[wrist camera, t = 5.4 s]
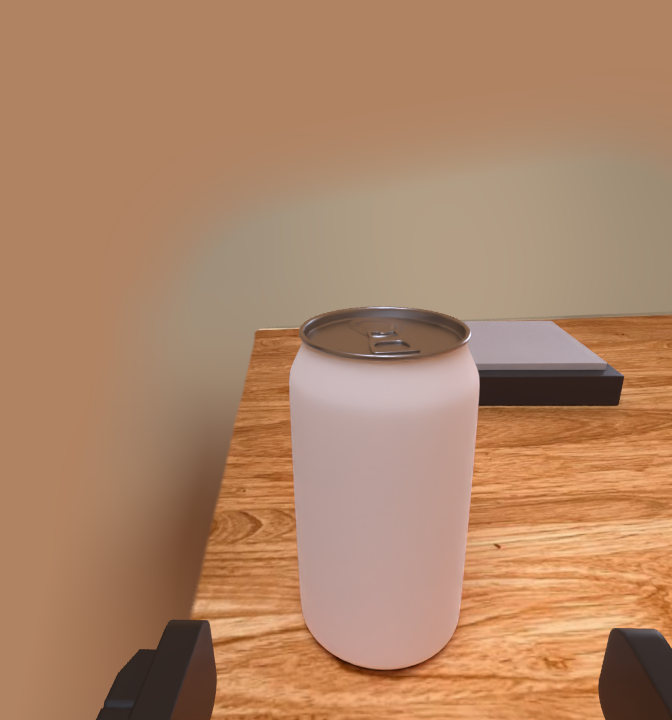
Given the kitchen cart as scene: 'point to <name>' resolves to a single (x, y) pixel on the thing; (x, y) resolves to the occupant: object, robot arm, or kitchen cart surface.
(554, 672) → the kitchen cart surface
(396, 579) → the can
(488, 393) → the scale
